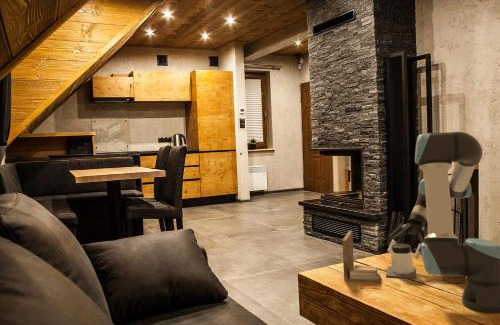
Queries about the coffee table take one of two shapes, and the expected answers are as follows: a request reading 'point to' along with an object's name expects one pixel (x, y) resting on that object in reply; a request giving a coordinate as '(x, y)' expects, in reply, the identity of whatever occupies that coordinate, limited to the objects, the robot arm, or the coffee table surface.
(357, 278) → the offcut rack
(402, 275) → the rubber mat
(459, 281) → the wooden mug
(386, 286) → the coffee table surface
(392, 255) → the jar
